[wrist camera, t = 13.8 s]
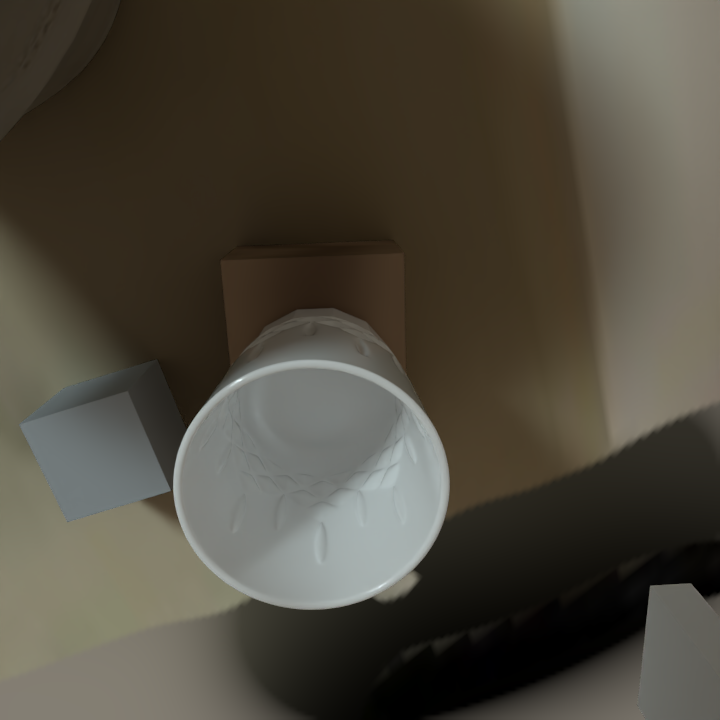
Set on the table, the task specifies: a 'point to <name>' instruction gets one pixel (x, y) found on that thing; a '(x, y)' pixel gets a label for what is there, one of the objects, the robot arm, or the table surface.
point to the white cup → (312, 467)
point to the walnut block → (315, 287)
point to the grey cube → (108, 440)
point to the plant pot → (46, 49)
